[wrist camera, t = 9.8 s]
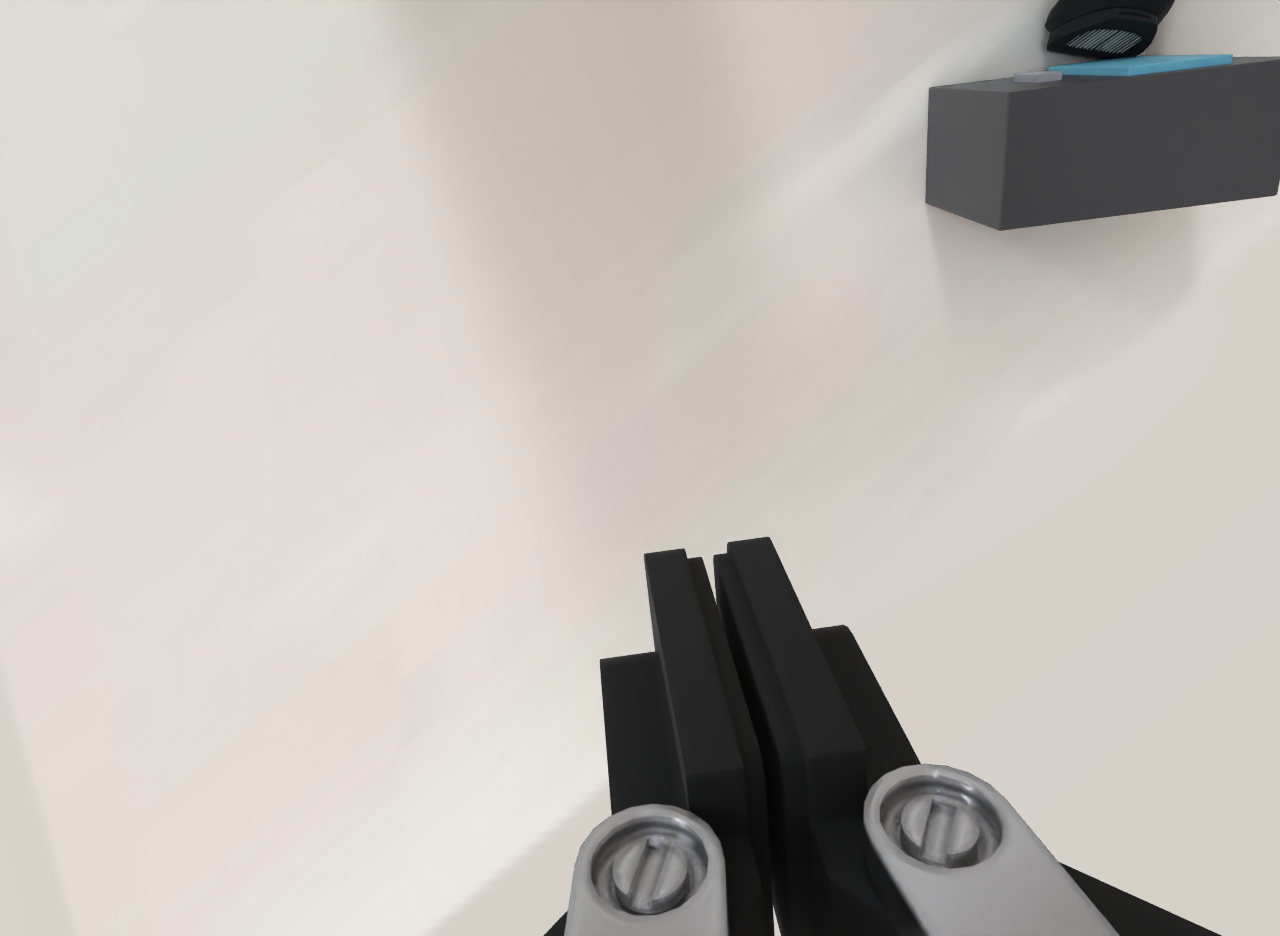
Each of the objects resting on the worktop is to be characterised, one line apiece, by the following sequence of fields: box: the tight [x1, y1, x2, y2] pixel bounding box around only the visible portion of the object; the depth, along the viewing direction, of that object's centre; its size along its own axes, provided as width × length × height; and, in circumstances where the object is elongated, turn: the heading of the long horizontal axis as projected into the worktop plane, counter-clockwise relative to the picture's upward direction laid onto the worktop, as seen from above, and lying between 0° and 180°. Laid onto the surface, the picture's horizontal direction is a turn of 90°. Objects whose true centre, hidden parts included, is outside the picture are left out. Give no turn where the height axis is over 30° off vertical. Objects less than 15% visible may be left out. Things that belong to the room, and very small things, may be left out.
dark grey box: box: [926, 54, 1280, 231], centre depth 29 cm, size 4×6×9 cm
